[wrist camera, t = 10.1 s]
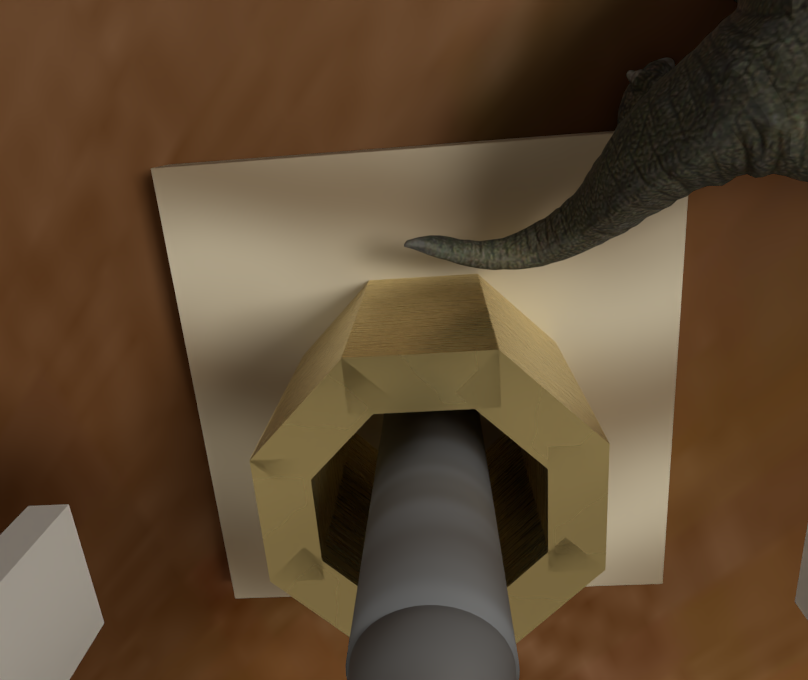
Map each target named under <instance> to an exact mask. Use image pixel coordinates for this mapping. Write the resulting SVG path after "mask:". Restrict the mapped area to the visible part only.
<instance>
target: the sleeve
mask: <svg viewBox="0 0 808 680" xmlns="http://www.w3.org/2000/svg"><path fill="white" fill-rule="evenodd" d="M464 409H475V410H477V411H478V412H479V413H480V414H482V415H483V416H484V417H485V418H486V419H488V420H489V421H490V422H491V423H492V424H494V425H495V426H496V427H497V428H499V429H500V430H501V431H502V432H503V434H502V435H501V436H500V437H499V438H498V439H497V440H496V441H495V442H494V443H493V444H492V445H491V446H490V447H489V448H488V449H486V450H485V452H486V459H487V465H488V471H489V478H490V484H491V490H492V496H493V503H494V509H495V515H496V522H497V528H498V534H499V541H500V547H501V553H502V560H503V566H504V572H505V578H506V585H507V591H508V597H509V604H510V610H511V616H512V623H513V629H514V635H515V642H516V643H517V642H519V641H520V640H521V639H522V638H524V637H525V636H526V635H527V634H528V633H530V632H531V631H532V630H533V629H534V628H536V627H537V626H538V625H539V624H540V623H542V622H543V621H544V620H545V619H547V618H548V617H549V616H550V615H551V614H553V613H554V612H555V611H556V610H557V609H559V608H560V607H561V606H562V605H563V604H565V603H566V602H567V601H568V600H569V599H571V598H572V597H573V596H574V595H576V594H577V593H578V592H579V591H580V590H582V589H583V588H584V587H585V586H586V585H588V584H589V583H590V582H591V581H592V580H594V579H595V578H596V577H597V576H599V575H600V574H601V573H602V572H603V571H605V570H606V540H607V510H608V480H609V450H610V443H609V442H608V440H607V438H606V436H605V434H604V432H603V430H602V428H601V427H600V425H599V423H598V421H597V419H596V417H595V415H594V413H593V411H592V410H591V408H590V406H589V404H588V402H587V400H586V398H585V396H584V395H583V393H582V391H581V389H580V387H579V385H578V383H577V381H576V380H575V378H574V376H573V374H572V372H571V370H570V368H569V366H568V364H567V363H566V361H565V359H564V357H563V355H562V353H561V351H560V349H559V348H558V346H557V344H556V342H555V341H554V340H553V339H552V338H550V337H549V336H548V335H547V334H546V333H545V332H544V331H542V330H541V329H540V328H539V327H538V326H537V325H536V324H534V323H533V322H532V321H531V320H530V319H529V318H528V317H526V316H525V315H524V314H523V313H522V312H521V311H520V310H518V309H517V308H516V307H515V306H514V305H513V304H512V303H510V302H509V301H508V300H507V299H506V298H505V297H504V296H503V295H501V294H500V293H499V292H498V291H497V290H496V289H495V288H493V287H492V286H491V285H490V284H489V283H488V282H487V281H485V280H484V279H483V278H482V277H481V276H480V275H479V274H463V275H447V276H431V277H415V278H399V279H383V280H369V281H368V282H367V284H366V285H365V286H364V287H363V288H362V289H361V290H360V292H359V293H358V294H357V295H356V296H355V297H354V298H353V300H352V301H351V302H350V303H349V304H348V305H347V306H346V308H345V309H344V310H343V311H342V312H341V313H340V314H339V316H338V317H337V318H336V319H335V320H334V321H333V322H332V324H331V325H330V326H329V327H328V328H327V329H326V330H325V332H324V333H323V334H322V335H321V336H320V337H319V338H318V340H317V341H316V342H315V343H314V344H313V345H312V346H311V348H310V349H309V350H308V351H307V352H306V353H305V354H304V355H303V357H302V359H301V361H300V363H299V365H298V367H297V369H296V371H295V373H294V375H293V377H292V378H291V380H290V382H289V384H288V386H287V388H286V390H285V392H284V394H283V396H282V398H281V400H280V402H279V404H278V406H277V408H276V410H275V412H274V414H273V415H272V417H271V419H270V421H269V423H268V425H267V427H266V429H265V431H264V433H263V435H262V437H261V439H260V441H259V443H258V445H257V447H256V449H255V450H254V452H253V454H252V456H251V458H250V460H249V461H250V467H251V473H252V479H253V485H254V491H255V496H256V502H257V508H258V514H259V520H260V526H261V531H262V537H263V543H264V549H265V555H266V561H267V567H268V572H269V578H270V582H272V583H273V584H274V585H276V586H277V587H279V588H280V589H282V590H283V591H284V592H286V593H287V594H289V595H290V596H292V597H293V598H294V599H296V600H297V601H299V602H300V603H302V604H303V605H305V606H306V607H307V608H309V609H310V610H312V611H313V612H315V613H316V614H317V615H319V616H320V617H322V618H323V619H325V620H326V621H327V622H329V623H330V624H332V625H333V626H335V627H336V628H337V629H339V630H340V631H342V632H343V633H345V634H346V635H347V636H349V637H350V633H351V626H352V620H353V613H354V607H355V600H356V593H357V587H358V580H359V574H360V567H361V561H362V554H363V548H364V541H365V535H366V528H367V521H368V515H369V508H370V502H371V495H372V489H373V482H374V476H375V469H376V463H377V456H378V450H377V449H376V448H374V447H373V446H372V445H371V444H369V443H368V442H367V441H365V440H364V439H363V438H362V437H360V436H359V435H358V434H356V431H357V430H358V429H359V428H360V427H361V426H362V425H363V424H364V423H365V422H366V421H367V420H368V419H369V418H370V417H371V416H372V415H373V414H383V413H403V412H424V411H444V410H464Z"/></svg>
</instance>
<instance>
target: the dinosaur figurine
mask: <svg viewBox="0 0 808 680" xmlns="http://www.w3.org/2000/svg"><path fill="white" fill-rule="evenodd" d="M734 1H736V2H737V3H738V4H737V8H736V9H735V11H734V12H733V13H731V14H730V15H729V16H727V17H726V18H725V19H723V20H722V21H721V22H720V24H719V25H718V26H717V27H716V28H715V29H714V30H713V31H712V32H711V33H709V34H708V35H707V36H706V37H705V38H704V39H703V40H702V41H701V43H700V44H699V45H698V46H697V47H696V48H695V49H694V50H693V51H692V52H690V53H689V54H688V55H686V56H685V57H684V58H683V59H682V60H681V61H680V62H679V63H678V64H677V65H676V66H675V62H674V60H673V59H671V58H661V59H658V60H656V61H653V62H650V63H649V64H648V65H646V66H645V67H644V69H640V70H637V71H634V70H629V71H628V72H627V74H626V76H627V79H628V80H629V82H630V83H629V85H628V86H627V88H626V90H625V92H624V93H623V97H622V100H621V103H620V106H619V110H618V120H617V124H618V126H617V127H616V129H615V131H614V133H613V135H612V136H611V138H610V140H609V141H608V143H607V144H606V146H605V147H604V149H603V151H602V153H601V155H600V156H599V157H598V158H597V159H596V161H595V162H594V163H593V165H592V168H591V169H590V171H589V172H588V173H587V175H586V177H585V179H584V181H583V183H582V184H581V185H580V187H579V188H578V189H577V191H576V192H575V193H574V195H572V196H571V197H570V198H568V199H567V200H566V201H565V202H564V203H563V204H562V205H561V206H560V207H559V208H557V209H555V210H554V211H553V212H552V213H551V214H549V215H548V216H547V217H546V218H544V219H541V220H539V221H537V222H535V223H534V224H532V225H530V226H528V227H527V228H525V229H523V230H521V231H519V232H517V233H514V234H512V235H509V236H507V237H504V238H500V239H492V240H485V241H474V240H462V239H457V238H452V237H448V236H441V235H429V236H423V237H417V238H414V239H410V240H407V241H406V242H405V244H404V247H407V248H411V249H414V250H416V251H419V252H422V253H424V254H427V255H430V256H433V257H436V258H439V259H443V260H447V261H450V262H453V263H456V264H459V265H463V266H468V267H474V268H479V269H488V270H502V269H505V270H519V269H527V268H535V267H542V266H545V265H548V264H551V263H555V262H559V261H562V260H565V259H568V258H571V257H573V256H576V255H578V254H581V253H583V252H585V251H587V250H590V249H591V248H593V247H596V246H598V245H601V244H603V243H604V242H606V241H608V240H609V239H612V238H614V237H616V236H619V235H621V234H623V233H625V232H627V231H628V230H629V229H631V228H633V227H635V226H637V225H638V224H640V223H641V222H642V221H643V220H644V219H645V218H647V217H649V216H651V215H653V214H656V213H658V212H660V211H661V210H663V209H665V208H667V207H670V206H672V205H673V204H674V203H675V202H676V201H677V200H678V199H681V198H684V197H687V196H688V195H689V194H690V193H691V192H692V191H694V190H697V189H700V188H703V187H705V186H722V185H724V184H726V183H728V182H729V181H731V180H732V179H733V178H735V177H736V176H740V175H745V174H748V175H750V176H753V177H755V178H757V177H764V176H767V175H769V174H778V175H784V176H788V177H790V178H794V179H797V180H800V181H806V182H808V0H734Z"/></svg>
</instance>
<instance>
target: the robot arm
mask: <svg viewBox="0 0 808 680" xmlns="http://www.w3.org/2000/svg"><path fill="white" fill-rule="evenodd" d="M795 603H796V604H797V606H798V607H799V609H800V610H801V611H802V613H803V614H804V616H805V617H806V618H807V620H808V525H807V531H806V537H805V543H804V550H803V556H802V562H801V568H800V574H799V580H798V586H797V592H796V598H795ZM103 624H104V620H103V617H102V614H101V610H100V607H99V604H98V600H97V597H96V594H95V590H94V587H93V584H92V580H91V577H90V574H89V570H88V567H87V564H86V560H85V557H84V554H83V550H82V547H81V544H80V540H79V537H78V534H77V530H76V527H75V524H74V520H73V517H72V514H71V510H70V507H69V504H64V505H41V506H28V507H27V508H26V509H25V510H24V511H23V512H22V513H21V514H20V515H19V516H18V517H17V518H16V519H15V520H14V521H13V522H12V523H11V524H10V525H9V526H8V527H7V528H6V529H5V530H4V531H3V533H2V534H1V535H0V680H70V678H71V676H72V675H73V673H74V671H75V670H76V668H77V667H78V665H79V663H80V662H81V660H82V658H83V657H84V655H85V654H86V652H87V650H88V649H89V647H90V645H91V644H92V642H93V641H94V639H95V637H96V636H97V634H98V632H99V631H100V629H101V628H102V626H103Z"/></svg>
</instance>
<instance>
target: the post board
mask: <svg viewBox="0 0 808 680" xmlns="http://www.w3.org/2000/svg"><path fill="white" fill-rule="evenodd" d="M613 133H614V131H605V132H592V133H579V134H566V135H553V136H540V137H526V138H513V139H500V140H487V141H474V142H461V143H448V144H435V145H421V146H408V147H395V148H382V149H369V150H356V151H343V152H330V153H317V154H303V155H290V156H277V157H264V158H251V159H238V160H225V161H212V162H198V163H185V164H172V165H165V166H160V167H156V168H151V172H152V177H153V183H154V188H155V193H156V198H157V203H158V208H159V213H160V218H161V223H162V228H163V233H164V239H165V244H166V249H167V254H168V259H169V264H170V269H171V274H172V279H173V284H174V289H175V295H176V300H177V305H178V310H179V315H180V320H181V325H182V330H183V335H184V340H185V345H186V351H187V356H188V361H189V366H190V371H191V376H192V381H193V386H194V391H195V396H196V401H197V407H198V412H199V417H200V422H201V427H202V432H203V437H204V442H205V447H206V452H207V457H208V463H209V468H210V473H211V478H212V483H213V488H214V493H215V498H216V503H217V508H218V513H219V518H220V524H221V529H222V534H223V539H224V544H225V549H226V554H227V559H228V564H229V569H230V574H231V580H232V585H233V590H234V595H235V598H263V597H292V596H290V595H289V594H287V593H286V592H284V591H283V590H282V589H280V588H279V587H277V586H276V585H274V584H273V583H272V582H270V578H269V572H268V567H267V561H266V555H265V549H264V543H263V537H262V531H261V526H260V520H259V514H258V508H257V502H256V496H255V491H254V485H253V479H252V473H251V467H250V461H249V460H250V458H251V456H252V454H253V452H254V450H255V449H256V447H257V445H258V443H259V441H260V439H261V437H262V435H263V433H264V431H265V429H266V427H267V425H268V423H269V421H270V419H271V417H272V415H273V414H274V412H275V410H276V408H277V406H278V404H279V402H280V400H281V398H282V396H283V394H284V392H285V390H286V388H287V386H288V384H289V382H290V380H291V378H292V377H293V375H294V373H295V371H296V369H297V367H298V365H299V363H300V361H301V359H302V357H303V355H304V354H305V353H306V352H307V351H308V350H309V349H310V348H311V346H312V345H313V344H314V343H315V342H316V341H317V340H318V338H319V337H320V336H321V335H322V334H323V333H324V332H325V330H326V329H327V328H328V327H329V326H330V325H331V324H332V322H333V321H334V320H335V319H336V318H337V317H338V316H339V314H340V313H341V312H342V311H343V310H344V309H345V308H346V306H347V305H348V304H349V303H350V302H351V301H352V300H353V298H354V297H355V296H356V295H357V294H358V293H359V292H360V290H361V289H362V288H363V287H364V286H365V285H366V284H367V282H368V281H369V280H383V279H399V278H415V277H431V276H447V275H463V274H479V275H480V276H481V277H482V278H483V279H484V280H485V281H487V282H488V283H489V284H490V285H491V286H492V287H493V288H495V289H496V290H497V291H498V292H499V293H500V294H501V295H503V296H504V297H505V298H506V299H507V300H508V301H509V302H510V303H512V304H513V305H514V306H515V307H516V308H517V309H518V310H520V311H521V312H522V313H523V314H524V315H525V316H526V317H528V318H529V319H530V320H531V321H532V322H533V323H534V324H536V325H537V326H538V327H539V328H540V329H541V330H542V331H544V332H545V333H546V334H547V335H548V336H549V337H550V338H552V339H553V340H554V341H555V342H556V344H557V346H558V348H559V349H560V351H561V353H562V355H563V357H564V359H565V361H566V363H567V364H568V366H569V368H570V370H571V372H572V374H573V376H574V378H575V380H576V381H577V383H578V385H579V387H580V389H581V391H582V393H583V395H584V396H585V398H586V400H587V402H588V404H589V406H590V408H591V410H592V411H593V413H594V415H595V417H596V419H597V421H598V423H599V425H600V427H601V428H602V430H603V432H604V434H605V436H606V438H607V440H608V442H609V443H610V450H609V480H608V510H607V540H606V570H605V571H603V572H602V573H601V574H600V575H599V576H597V577H596V578H595V579H594V580H592V581H591V582H590V583H589V584H588V585H586V586H609V585H638V584H662V582H663V567H664V552H665V537H666V521H667V506H668V491H669V476H670V461H671V446H672V431H673V416H674V401H675V386H676V371H677V355H678V340H679V325H680V310H681V295H682V280H683V265H684V250H685V235H686V220H687V205H688V196H687V197H684V198H681V199H678V200H677V201H676V202H675V203H674V204H673V205H672V206H670V207H667V208H665V209H663V210H661V211H660V212H658V213H656V214H653V215H651V216H649V217H647V218H645V219H644V220H643V221H642V222H641V223H640V224H638V225H637V226H635V227H633V228H631V229H629V230H628V231H627V232H625V233H623V234H621V235H619V236H616V237H614V238H612V239H609V240H608V241H606V242H604V243H603V244H601V245H598V246H596V247H593V248H591V249H590V250H587V251H585V252H583V253H581V254H578V255H576V256H573V257H571V258H568V259H565V260H562V261H559V262H555V263H551V264H548V265H545V266H542V267H535V268H527V269H519V270H505V269H502V270H488V269H479V268H474V267H468V266H463V265H459V264H456V263H453V262H450V261H447V260H443V259H439V258H436V257H433V256H430V255H427V254H424V253H422V252H419V251H416V250H414V249H411V248H407V247H404V244H405V242H406V241H407V240H410V239H414V238H417V237H423V236H429V235H441V236H448V237H452V238H457V239H462V240H474V241H485V240H492V239H500V238H504V237H507V236H509V235H512V234H514V233H517V232H519V231H521V230H523V229H525V228H527V227H528V226H530V225H532V224H534V223H535V222H537V221H539V220H541V219H544V218H546V217H547V216H548V215H549V214H551V213H552V212H553V211H554V210H555V209H557V208H559V207H560V206H561V205H562V204H563V203H564V202H565V201H566V200H567V199H568V198H570V197H571V196H572V195H574V193H575V192H576V191H577V189H578V188H579V187H580V185H581V184H582V183H583V181H584V179H585V177H586V175H587V173H588V172H589V171H590V169H591V168H592V165H593V163H594V162H595V161H596V159H597V158H598V157H599V156H600V155H601V153H602V151H603V149H604V147H605V146H606V144H607V143H608V141H609V140H610V138H611V136H612V135H613ZM356 434H358V435H359V436H360V437H362V438H363V439H364V440H365V441H367V442H368V443H369V444H371V445H372V446H373V447H374V448H376V449H377V450H378V456H377V463H376V469H375V476H374V482H373V489H372V495H371V502H370V508H369V515H368V521H367V528H366V535H365V541H364V548H363V554H362V561H361V567H360V574H359V580H358V587H357V593H356V600H355V607H354V613H353V620H352V626H351V633H350V639H349V646H348V652H347V659H346V676H347V680H519V671H520V670H519V660H518V654H517V648H516V642H515V635H514V629H513V623H512V616H511V610H510V604H509V597H508V591H507V585H506V578H505V572H504V566H503V560H502V553H501V547H500V541H499V534H498V528H497V522H496V515H495V509H494V503H493V496H492V490H491V484H490V478H489V471H488V465H487V459H486V452H485V450H486V449H488V448H489V447H490V446H491V445H492V444H493V443H494V442H495V441H496V440H497V439H498V438H499V437H500V436H501V435H502V434H503V432H502V431H501V430H500V429H499V428H497V427H496V426H495V425H494V424H492V423H491V422H490V421H489V420H488V419H486V418H485V417H484V416H483V415H482V414H480V413H479V412H478V411H477V410H475V409H464V410H444V411H424V412H403V413H383V414H373V415H372V416H371V417H370V418H369V419H368V420H367V421H366V422H365V423H364V424H363V425H362V426H361V427H360V428H359V429H358V430H357V431H356Z"/></svg>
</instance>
